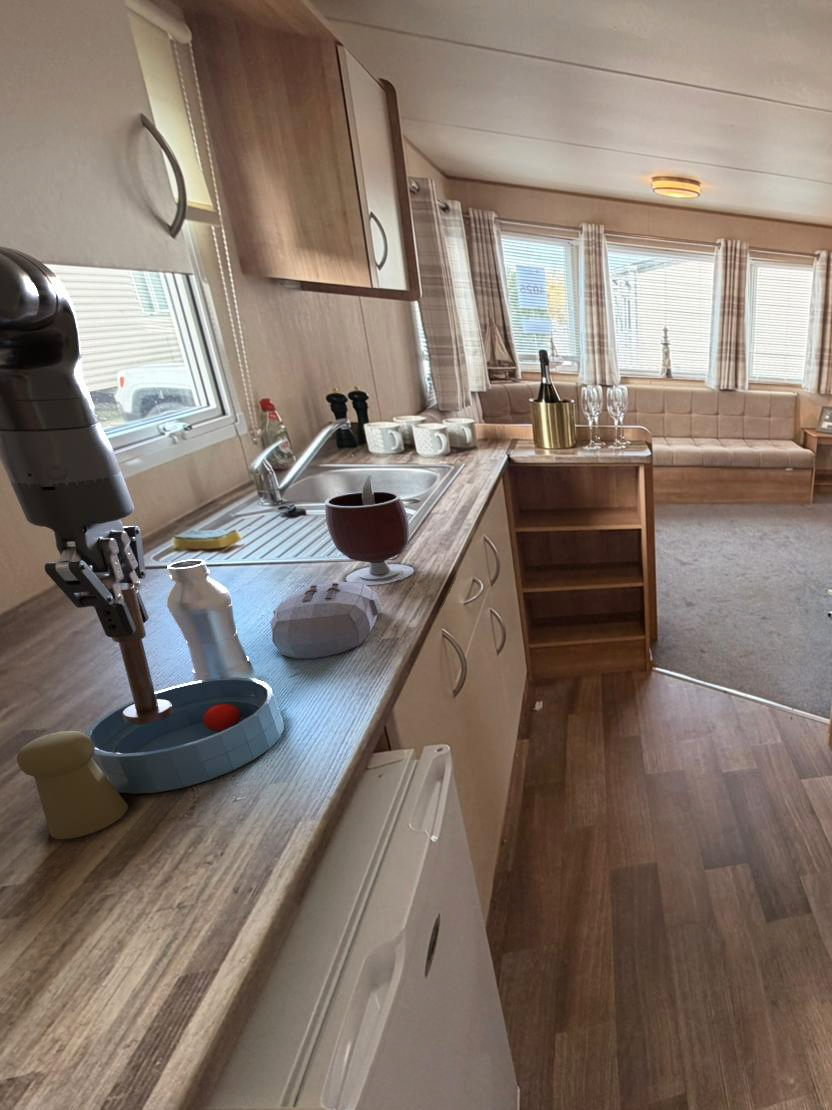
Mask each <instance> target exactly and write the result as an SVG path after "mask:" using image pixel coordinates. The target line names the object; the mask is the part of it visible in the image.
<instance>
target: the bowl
mask: <svg viewBox="0 0 832 1110" xmlns="http://www.w3.org/2000/svg"><path fill="white" fill-rule="evenodd" d="M155 695H156V699H157V700H158V699H160V700H167V701H169V702H171V704H172V708H173V713H172V714H171V715H170V716H169V717H167V718H165V719H163V720H160V721H157V722H154V723H150V724H143V725H131V724H128V723H126V722H125V721H124V718H123V714H122V713H123V711H124V710H125V709H126V708H127V707H129V706H131V705H133V704H134V700H133V699H132V700H131V701H129V702H126V703H124V704H122V705H121V706H119V707H117V708H115V709H112V710H110V711H109V712H108V713H106V714H105V715H103V716H101V717H100V718H99V719H97V720H95V722H93V723H92V725H90V727H88V729H87V730H86V731H85V732H84V734H86V735H87V736H88V737H89V738H90V739H91V740H92V742H93V744H94V750H95V751H94V754H93V756H92V759H93V760H94V761H95V763H96V764H97V765H98V767H99V768H100V769H101V771H102V772H103V773H104V775H105V776H106V777H107V778H108V780H109V781H110V782H111V784H112V785H113V786H114V788H115V789H116V790H117V792H118V793H124V794H130V795H131V794H132V795H138V794H139V795H141V794H155V793H163V792H166V791H167V792H168V791H173V790H177V789H178V790H179V789H183V788H187V787H190V786H194V785H197V784H201V783H204V782H207V781H210V780H212V779H215V778H218V777H220V776H222V775H225V774H228V773H230V772H233V771H234V770H237V769H238V768H241V767H243V766H244V765H246V764H249V763H250V762H252V761H254V760H256V759H257V758H258V757H260V756H261V755H262V754H264V753H266V752H268V750H270V749H271V748H272V747H273V745H275V743H276V742H278V741H279V740H280V738H281V736H282V734H283V732H284V730H285V725H284V720H283V717H282V714H281V711H280V708H279V704H278V701H277V699H276V695H275V693H274V689H273V687H271V686H270V685H269V684H268V683H267V682H265V681H262V680H258V679H250V678H239V677H236V678H217V679H210V680H203V681H196V682H194V681H191V682H188V683H183V684H178V685H174V686H171V687H168V688H165V689H161V690H158V691H155ZM220 704H229V705H232V706H234V707H236V708H237V709H238V710H239V712H240V715H241V718H240V721H239V723H238V724H236V725H234V726H232V727H230V728H228V729H226V730H224V731H221V732H215V731H212V730H210V729H208V728H207V727H206V726H205V724H204V715H205V713H206V712H207V711H208V710H209V709H210V708H212V707H214V706H216V705H220Z"/></svg>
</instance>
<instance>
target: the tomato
mask: <svg viewBox="0 0 832 1110" xmlns="http://www.w3.org/2000/svg"><path fill="white" fill-rule="evenodd" d="M240 718H241V715H240V712H239V710H238V709H237V708H236V707H234V706H232V705H229V704H220V705H216V706H214V707H212V708H210V709H209V710H208V711H207V712H206V713H205V715H204V724H205V726H206V727H207V728H208V729H210V730H212V731H215V732H221V731H224V730H226V729H228V728H230V727H232V726H234V725H236V724H238V723H239V721H240Z"/></svg>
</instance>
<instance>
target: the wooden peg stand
mask: <svg viewBox="0 0 832 1110" xmlns="http://www.w3.org/2000/svg"><path fill="white" fill-rule="evenodd" d="M103 585H104V584H103ZM119 585H120V588H121V591H122V595H123V598H124V601H123V602H126V605H127V607H128V610H129V613H130V615H131V618H132V620H133V623H134V625H135V628H136V631H135V632H134V633H133V634H132V635H130V636H123V637H114V638H111V640H112V641H113V642H114V643H118V646H119V650H120V653H121V657H122V661H123V665H124V669H125V673H126V676H127V681H128V685H129V688H130V692H131V696H132V701H133V700H134V704H133V705H131V706H129V707H127V708H126V709H125V710H124V711H123V713H122V714H123V718H124V721H125V722H126V723H128V724H131V725H143V724H150V723H154V722H157V721H160V720H163V719H165V718H167V717H169V716H170V715H171V714H172V713H173V708H172V704H171V702H169V701H167V700H160V699H158V700H157V699H156V695H155V692H156V690H155V687H154V683H153V678H152V675H151V671H150V667H149V661H148V658H147V654H146V649H145V646H144V641H143V639H144V638H146V636H147V633H146V629H145V625H144V624H145V623H143V620H142V616H141V612H140V607H139V603H138V599H137V595H136V591H135V587H134V585H133V584H130V583H119ZM104 586H105V587H106V589H107V590H108V587H107V585H104ZM108 591H109V590H108Z"/></svg>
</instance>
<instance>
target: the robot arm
mask: <svg viewBox="0 0 832 1110" xmlns="http://www.w3.org/2000/svg"><path fill="white" fill-rule="evenodd" d="M79 332H80V331H79V325H78V319H77V315H76V311H75V307H74V304H73V301H72V300H71V297H70V295H69V293H68V291H67V290H66V288H65V286H64V284H63V282H61V280H60V278H59V277H58V276H57V275H56V274H55V273H54V272H53V270H52V269H50V268H49V267H48V266H47V265H46V264H44V263H43V262H41V261H40V260H38V259H37V258H36V257H33V256H32V255H29V254H27V253H25V252H23V251H20V250H18V249H14V248H11V247H6V246H1V245H0V462H1V464H2V467H3V469H4V471H5V473H6V475H7V478H8V481H9V482H10V485H11V487H12V489H13V492H14V494H15V496H16V498H17V501H18V503H19V504H20V508H21V510H22V512H23V514H24V517H25V519H26V521H27V522H28V523H29V524H31V525H33V526H36V527H44V528H47V529H50V530H51V531H53V534H54V538H55V546H56V549H57V551H58V553H59V556H60V557H59V558H58V561H54V562H53V561H52V562H46V563H45V564H44V571H45V573H46V574H47V576H49V578H50V579H51V580H52V581H53V583H54V584H56V586H57V587H58V589H60V590H61V591H62V592H63V594H64V595H65V596H66V597H67V598H68V599H69V600H70V601H71V603H72V604H73V605H74V606H75V607H76V608H79V609H83V608H87V607H88V608H89V607H92V608H94V610H95V613H96V615H97V617H98V620H99V622H100V624H101V627H102V630H103V632H104V634H105V636H106V637H108V638H110V639H112V638H114V637H123V636H130V635H132V634H133V633H134V632H135V631H136V628H135V625H134V623H133V620H132V618H131V615H130V613H129V610H128V607H127V605H126V602H123V601H124V598H123V595H122V591H121V588H120V585H119V583H130V584H133V585H134V587H135V591H136V595H137V599H138V603H139V607H140V612H141V616H142V620H143V624H145V623H146V622H147V621H148V620H149V619H150V617H149V614H148V612H147V609H146V606H145V604H144V602H143V599H142V595H141V594H140V591H139V590H141V587H142V583H141V581H140V580H143V579H145V578H146V576H147V571H146V565H145V556H144V550H143V549H144V547H143V541H142V532H141V528H140V527H139V526H138V525H132V526H131V525H129V526H124V524H123V522H122V521H121V520H122V519H125V518H127V517H129V516H131V515H132V514H134V512H135V505H134V502H133V500H132V496H131V494H130V491H129V490H128V489H129V488H128V486H127V483H126V481H125V477H124V475H123V473H122V469H121V466H120V464H119V461H118V459H117V455H116V453H115V451H114V448H113V446H112V444H111V442H110V440H109V438H108V436H107V435H106V432H105V431H104V429H103V427H102V424H101V423H100V420H99V419H100V418H99V416H98V414H97V411H96V409H95V405H94V403H93V401H92V398H91V395H90V392H89V390H88V387H87V386H86V384H85V381H84V378H83V372H82V371H83V370H82V351H81V341H80V334H79ZM104 585H107V587H108V590H109V591H108V590H107V589H106V587H105V586H104Z"/></svg>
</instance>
